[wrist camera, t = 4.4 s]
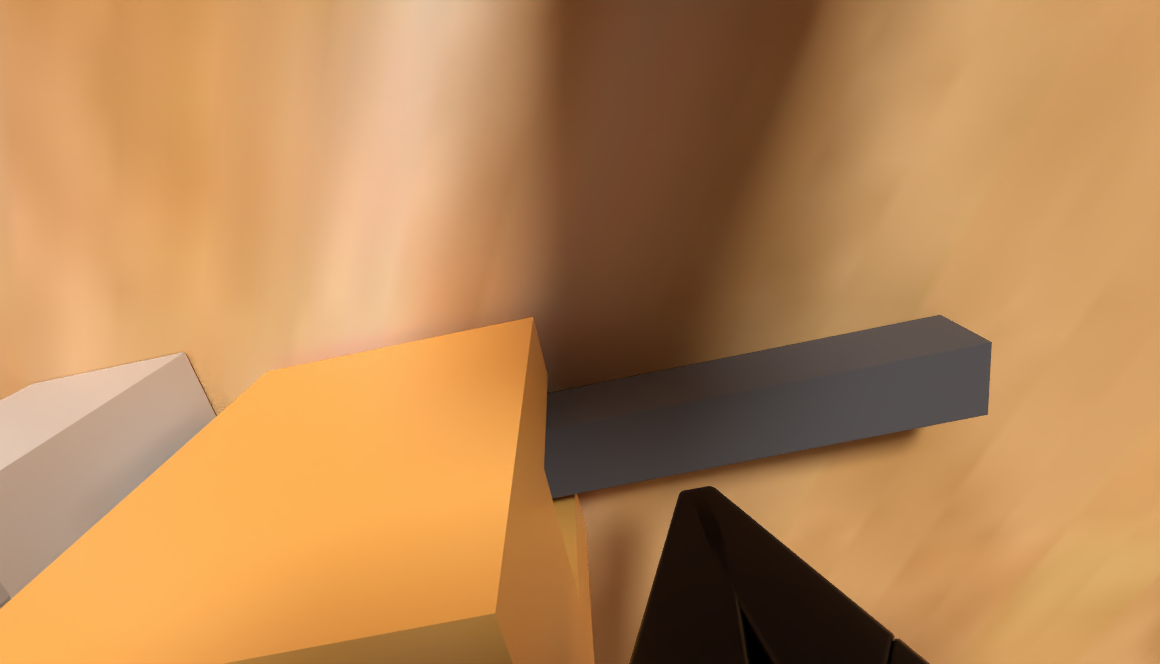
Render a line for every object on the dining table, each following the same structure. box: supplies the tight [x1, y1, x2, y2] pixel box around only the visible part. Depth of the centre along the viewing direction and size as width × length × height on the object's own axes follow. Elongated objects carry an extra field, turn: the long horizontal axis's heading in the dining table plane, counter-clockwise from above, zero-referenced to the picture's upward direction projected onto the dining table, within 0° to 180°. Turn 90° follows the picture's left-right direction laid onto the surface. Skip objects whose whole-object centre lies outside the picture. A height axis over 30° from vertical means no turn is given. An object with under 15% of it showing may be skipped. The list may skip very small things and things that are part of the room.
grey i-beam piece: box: [0, 352, 216, 609], centre depth 9 cm, size 3×6×5 cm, turn 12°
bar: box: [544, 315, 992, 498], centre depth 11 cm, size 17×1×1 cm, turn 102°
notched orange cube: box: [0, 317, 595, 664], centre depth 8 cm, size 5×5×7 cm
